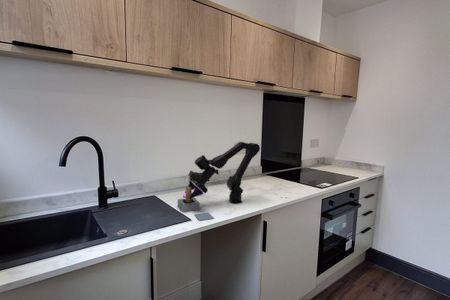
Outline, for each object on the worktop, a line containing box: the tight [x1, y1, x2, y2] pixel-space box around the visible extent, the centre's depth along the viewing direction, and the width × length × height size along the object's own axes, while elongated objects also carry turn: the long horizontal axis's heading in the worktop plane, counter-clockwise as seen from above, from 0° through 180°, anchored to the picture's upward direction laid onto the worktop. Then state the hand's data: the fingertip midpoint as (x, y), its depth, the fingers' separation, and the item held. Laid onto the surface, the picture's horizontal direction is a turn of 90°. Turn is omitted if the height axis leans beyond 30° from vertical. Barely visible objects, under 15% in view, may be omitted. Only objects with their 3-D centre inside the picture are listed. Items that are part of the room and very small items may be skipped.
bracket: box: [182, 185, 204, 199], centre depth 159 cm, size 13×6×7 cm, turn 129°
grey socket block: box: [177, 197, 201, 213], centre depth 138 cm, size 10×10×4 cm
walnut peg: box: [185, 186, 193, 203], centre depth 138 cm, size 5×5×12 cm
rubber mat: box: [194, 212, 215, 222], centre depth 127 cm, size 8×8×1 cm
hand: (187, 195), depth 137 cm, fingers open, 9 cm apart
